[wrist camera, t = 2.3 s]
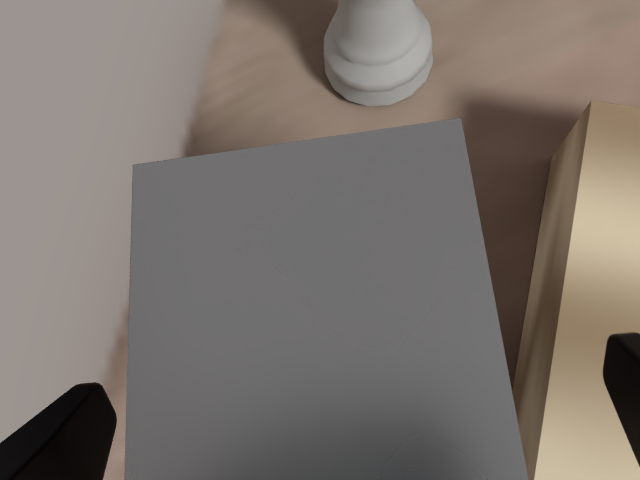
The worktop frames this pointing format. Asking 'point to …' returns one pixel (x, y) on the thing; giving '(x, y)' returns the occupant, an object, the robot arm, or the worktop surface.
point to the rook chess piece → (377, 50)
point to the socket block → (582, 301)
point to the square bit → (316, 315)
